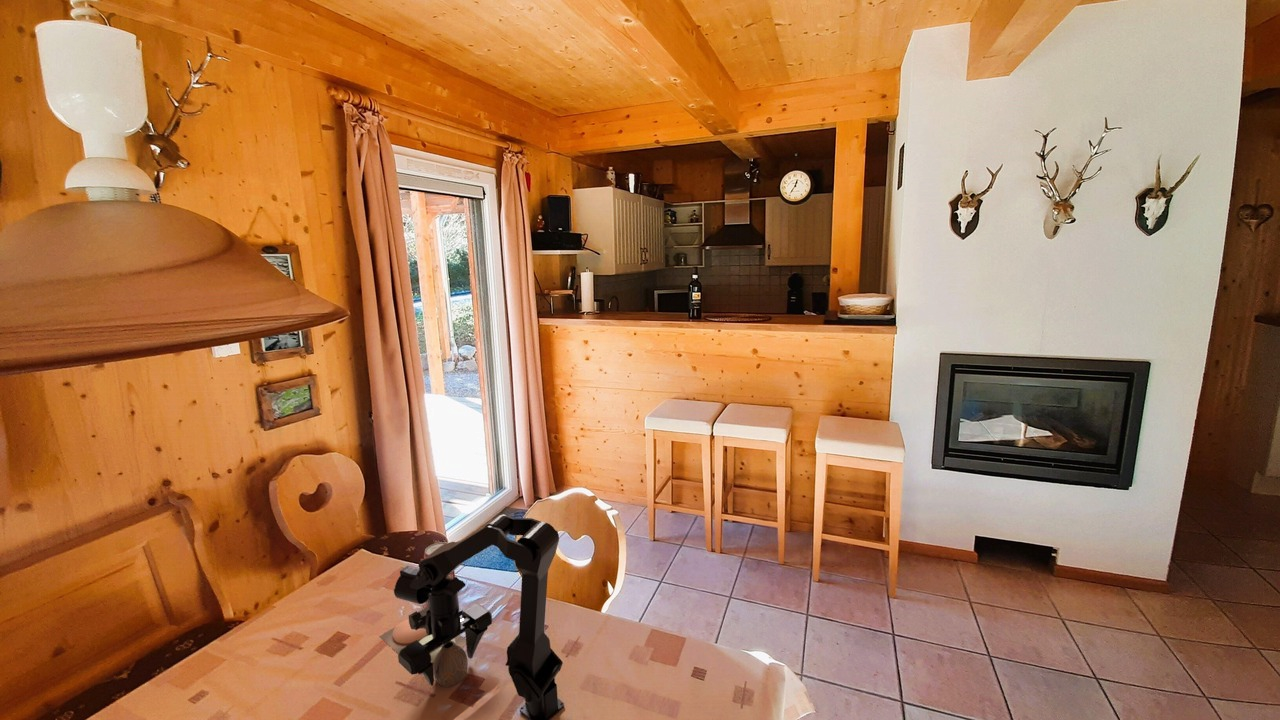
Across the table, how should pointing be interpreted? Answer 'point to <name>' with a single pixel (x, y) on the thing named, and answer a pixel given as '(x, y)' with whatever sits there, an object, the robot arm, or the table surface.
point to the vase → (450, 664)
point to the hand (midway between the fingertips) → (451, 670)
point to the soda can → (432, 549)
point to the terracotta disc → (407, 633)
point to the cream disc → (435, 650)
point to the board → (397, 647)
